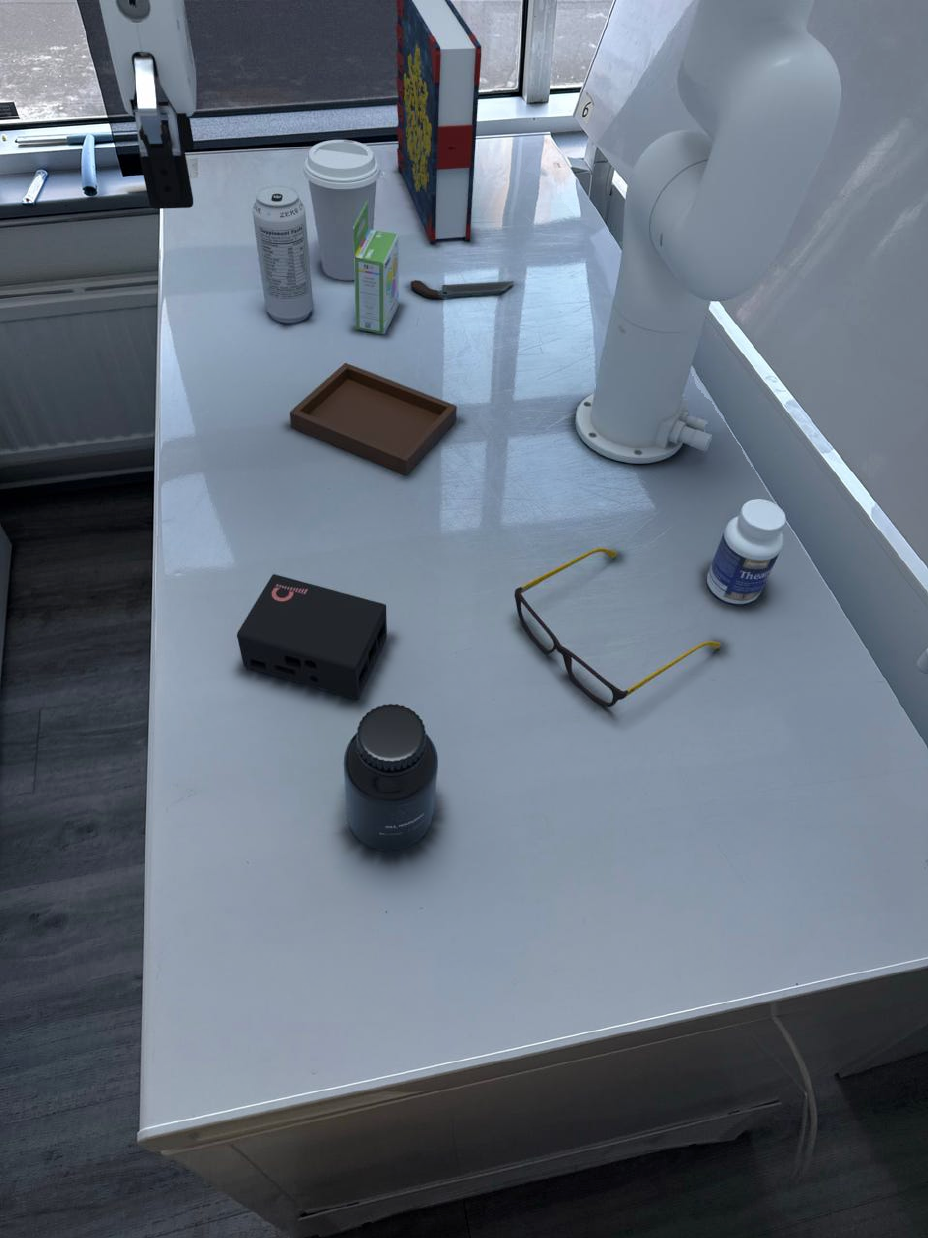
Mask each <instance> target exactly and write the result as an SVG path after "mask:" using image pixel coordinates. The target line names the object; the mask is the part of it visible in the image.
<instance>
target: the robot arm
mask: <svg viewBox="0 0 928 1238" xmlns="http://www.w3.org/2000/svg"><path fill="white" fill-rule="evenodd" d="M98 2H99V7H100V10H101V11H100V12H101V15H102V20H103V25H104V29H105V34H106V38H107V43H108V48H109V52H110V56H111V60H112V61H111V62H112V65H113V68H114V73H115V77H116V82H117V85H118V89H119V93H120V97H121V100H122V104H123V108H124V110H125V112H126V113H127V114H128V115H130V116H131V117H133V118H135V125H136V134H137V141H138V147H139V148H138V149H139V151H138V156H139V160H140V161H139V162H140V165H141V171H142V175H143V179H144V185H145V189H146V194H147V198H148V204H149V206H150V208H152V209H154V210H155V209H156V210H162V209H165V210H166V209H189V208H192V207H193V206H194V195H193V190H192V189H193V188H192V185H191V179H190V173H189V167H188V162H187V156H186V152H187V151H188V152H189V151H193V150H194V147H195V142H194V135H193V130H192V129H193V128H192V125H191V117H192V116H193V115H194V113H195V112H196V110H197V69H196V63H195V58H194V52H193V48H192V47H193V46H192V41H191V36H190V29H189V24H188V23H189V22H188V18H187V11H186V6H185V5H186V4H185V0H98ZM814 3H815V0H698V4H697V6H696V11H695V13H694V17H693V19H692V23H691V26H690V30H689V31H688V34H687V38H686V41H685V44H684V48H683V50H682V54H681V59H680V61H679V65H678V71H677V78H676V79H677V83H676V84H677V91H678V95H679V98H680V99H681V102H682V104H683V106H684V107H685V109H686V110H687V112H688V113H689V115H690V116H691V117H692V118H693V120H694V122H696V123H697V124H698V125H699V126H700V128H701V129H702V130H703V131H704V132H705V133H704V132H701V131H697V130H692V129H680V130H674V131H670V132H669V133H665V134H663V135H662V136H660V137H658V138H656V140H654V141H652V142H651V143H650V144H649V145H648V146H647V147H646V149H644V151H643V152H642V153H641V154H640V156H639V157H638V159H637V160H636V162H635V164H634V166H633V168H632V171H631V172H630V176H629V179H628V183H627V186H626V191H625V198H624V207H623V224H622V225H623V227H622V245H621V254H620V262H619V267H618V274H617V279H616V285H615V288H614V289H615V290H614V294H613V298H612V304H611V308H610V313H609V319H608V323H607V328H606V333H605V337H604V338H605V339H604V343H603V347H602V352H601V358H600V362H599V368H598V373H597V377H596V382H595V388H594V392H592V393H591V394H589V395H588V396H586V397H585V398H584V399H583V400H581V402H580V404H579V405H578V407H577V410H576V413H575V420H574V425H575V429H576V432H577V434H578V436H579V437H580V439H581V440H582V442H583V443H584V444H586V445H587V446H588V447H589V448H590V449H592V450H593V451H594V452H596V453H598V454H599V455H601V456H604V457H605V458H608V459H611V460H613V461H618V462H620V463H621V462H622V463H626V464H636V465H637V464H639V465H640V464H641V465H642V464H652V463H657V462H661V461H663V460H666V459H669V458H670V457H672V456H673V455H675V454H676V453H677V452H678V451H679V450H680V449H681V447H682V446H683V444H685V445H688V446H690V447H692V448H694V449H697V450H699V451H703V452H707V450H708V448H709V446H710V444H711V441H712V438H713V435H712V434H711V433H708V432H705V431H706V430H707V428H708V425H709V421H708V420H706V419H703V418H700V417H696V416H693V415H690V412H688V411H686V408H687V405H688V402H689V398H688V397H686V396H684V393H685V390H686V386H687V383H688V380H689V376H690V373H691V369H692V367H693V363H694V359H695V356H696V352H697V350H698V349H697V348H698V345H699V342H700V340H701V339H700V338H701V336H702V331H703V328H704V325H705V321H706V319H707V315H708V313H709V309H710V305H711V303H712V302H713V303H715V302H725V301H728V300H732V299H734V298H737V297H739V296H740V295H743V294H744V293H747V291H749V290H750V289H751V288H752V287H754V286H756V284H757V283H758V282H759V281H760V280H762V278H763V277H764V276H765V275H766V273H767V272H768V271H769V269H771V266H773V263H774V262H775V261H776V259H777V257H778V256H779V253H780V252H781V251H782V249H783V246H784V245H785V242H786V240H787V238H788V236H789V235H790V232H791V230H792V227H793V225H794V224H795V220H796V219H797V216H798V214H799V212H800V210H801V208H802V206H803V204H804V201H805V199H806V197H807V194H808V193H809V190H810V189H811V186H812V184H813V182H814V179H815V177H816V175H817V173H818V171H819V168H820V166H821V165H822V162H823V159H824V158H825V155H826V153H827V150H828V148H829V146H830V143H831V141H832V139H833V137H834V133H835V130H836V127H837V125H838V124H837V123H838V121H839V116H840V110H841V103H842V82H841V76H840V71H839V69H838V65H837V63H836V61H835V59H834V57H833V56H832V55H831V53H830V52H829V50H828V49H827V48H826V46H824V45H823V44H822V43H821V42H820V41H819V40H818V39H817V38H816V37H815V36H813V35H812V34H810V32H808V23H809V18H810V15H811V12H812V10H813V7H814Z"/></svg>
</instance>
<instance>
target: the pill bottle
mask: <svg viewBox="0 0 928 1238" xmlns="http://www.w3.org/2000/svg"><path fill="white" fill-rule="evenodd" d="M786 519H787V518H786V514H785V512H784V510H783V509H782V508H781V507H780V506H779V505H777V504H776V503H774V502H773V501H770V500H768V499H767V500H766V499H761V498H760V499H758V498H756V499H751V500H748V501H747V502H745V503H744V504H743V506H742V507H741V509H740V512H739V513H738V516H735V517H734V518H732V519H731V520H730V521H729V522H728V523H727V524H726V526H725V529H724V531H723V533H722V536H721V539H720V541H719V544H718V546H717V548H716V551H715V554H714V556H713V559H712V561H711V563H710V566H709V568H708V572H707V575H706V582H707V586H708V588H709V589H710V591H711V592H712V593H713V595H714V596H716V597H718V598H719V599H720V600H722V601H724V602H726V603H730V604H735V605H744V604H749V603H751V602H754V601H755V600H756V599H757V598H758V597H759V596H760V594H761V593H762V591H763V588H765V584H766V582H767V580H768V578H769V576H770V574H771V572H772V570H773V568H774V566H775V564H776V561H777V559H778V557H779V555H780V553H781V551H782V549H783V546H784V535H783V532H782V531H783V528H784V526H785V523H786Z"/></svg>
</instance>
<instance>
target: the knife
mask: <svg viewBox="0 0 928 1238" xmlns="http://www.w3.org/2000/svg"><path fill="white" fill-rule="evenodd" d="M514 283H515V280H506V281H489V282H487V281H486V282H472V283H469V282H468V283H454V284H442V286H441V290H438V289H433V288H430V287H428V286H427V285H426V284H425V283H424V282H422V281H421V280H417V279H415V280H411V281H410V287H411V289H412V290H413V291H415V292H416V293H418V294H420V295H421V296H423V297H426V298H429V299H439V298H440V299H441V298H444V299H445V298H446V299H447V298H453V297H463V296H479V295H480V296H481V295H482V296H483V295H496V294H501V293H502V292H504V291H506V290H507V289H508V288H510V287H511V286H512V285H514Z"/></svg>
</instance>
